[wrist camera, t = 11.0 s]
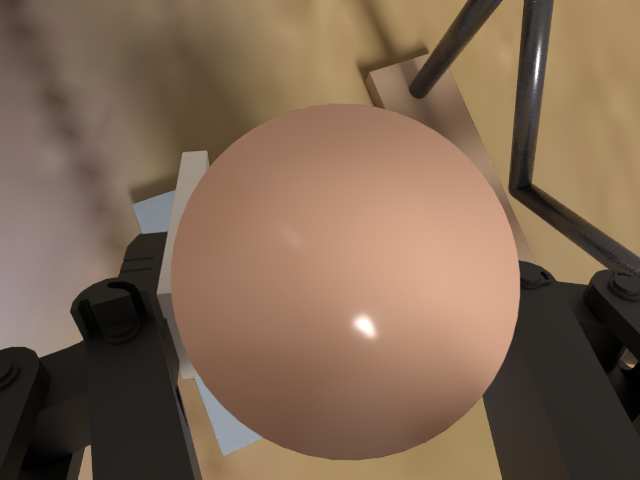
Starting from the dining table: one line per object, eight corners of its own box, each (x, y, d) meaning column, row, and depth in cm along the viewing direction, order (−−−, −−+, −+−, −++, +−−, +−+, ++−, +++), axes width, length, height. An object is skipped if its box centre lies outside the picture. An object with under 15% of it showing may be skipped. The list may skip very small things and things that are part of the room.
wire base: (364, 82, 27) (369, 72, 25) (433, 60, 27) (440, 49, 26) (492, 382, 25) (504, 386, 24) (561, 349, 26) (575, 351, 25)
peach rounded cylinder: (210, 254, 17) (118, 166, 6) (333, 208, 18) (438, 63, 7) (258, 383, 17) (249, 530, 6) (382, 329, 18) (575, 367, 7)
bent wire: (406, 83, 26) (534, -110, 14) (423, 78, 26) (564, -118, 14) (522, 349, 24) (781, 397, 12) (539, 341, 24) (810, 380, 12)
